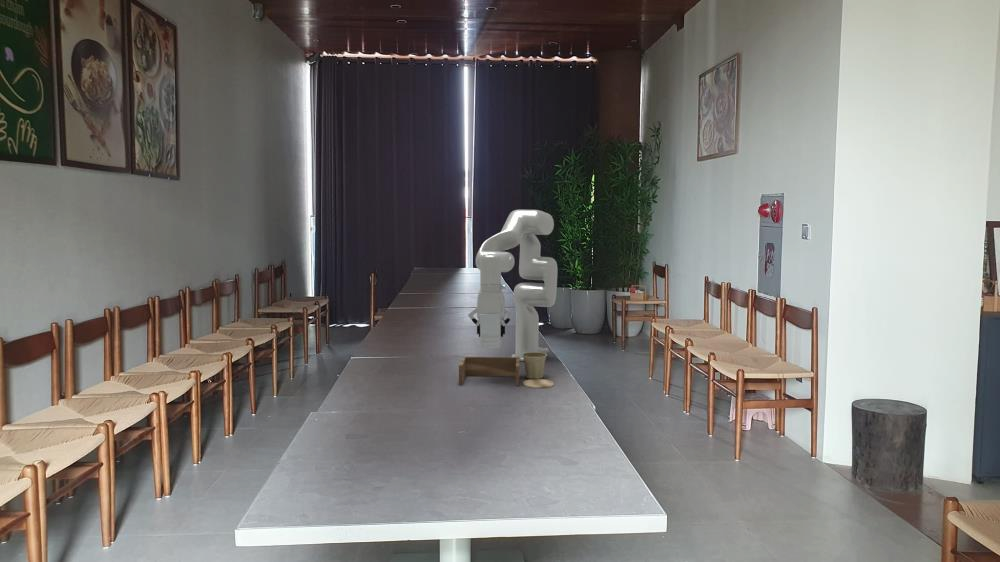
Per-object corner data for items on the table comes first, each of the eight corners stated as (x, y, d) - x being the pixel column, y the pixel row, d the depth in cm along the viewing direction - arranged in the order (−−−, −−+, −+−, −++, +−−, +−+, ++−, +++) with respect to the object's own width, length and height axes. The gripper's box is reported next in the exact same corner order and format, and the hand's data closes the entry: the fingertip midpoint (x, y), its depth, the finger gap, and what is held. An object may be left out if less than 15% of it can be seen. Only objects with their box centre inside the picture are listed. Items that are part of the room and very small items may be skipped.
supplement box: (502, 344, 277) (502, 310, 276) (500, 349, 270) (500, 314, 268) (482, 344, 278) (482, 310, 276) (479, 348, 271) (479, 314, 269)
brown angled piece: (462, 374, 283) (462, 356, 282) (519, 375, 282) (519, 357, 281) (458, 384, 267) (458, 365, 267) (518, 385, 267) (519, 366, 266)
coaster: (543, 379, 277) (543, 377, 277) (559, 386, 267) (560, 384, 267) (517, 382, 272) (517, 380, 271) (533, 389, 262) (533, 387, 262)
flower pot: (517, 378, 278) (517, 355, 277) (528, 373, 286) (528, 351, 285) (540, 381, 274) (540, 358, 273) (550, 376, 282) (551, 353, 281)
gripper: (515, 286, 274) (515, 334, 277) (467, 286, 275) (468, 333, 278) (514, 289, 267) (514, 338, 269) (465, 289, 268) (466, 338, 270)
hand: (491, 335), depth 274 cm, fingers closed on supplement box, 7 cm apart
